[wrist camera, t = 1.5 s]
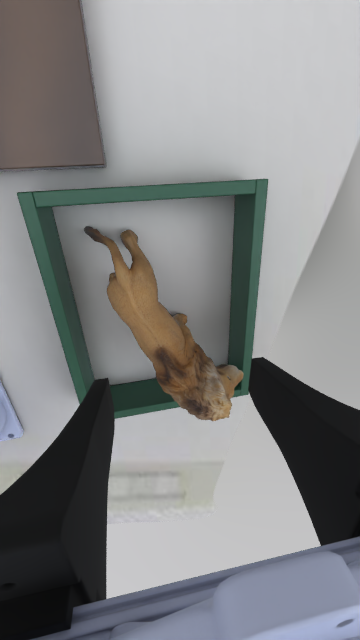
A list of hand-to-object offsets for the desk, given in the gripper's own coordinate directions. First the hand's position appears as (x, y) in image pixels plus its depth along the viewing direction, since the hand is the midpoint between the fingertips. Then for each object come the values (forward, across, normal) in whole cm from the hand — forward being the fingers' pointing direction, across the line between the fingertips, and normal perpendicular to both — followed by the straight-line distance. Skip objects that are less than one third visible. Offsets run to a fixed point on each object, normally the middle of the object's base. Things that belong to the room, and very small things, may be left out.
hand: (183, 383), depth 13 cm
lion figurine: (+11, 0, 0) cm, 11 cm away
